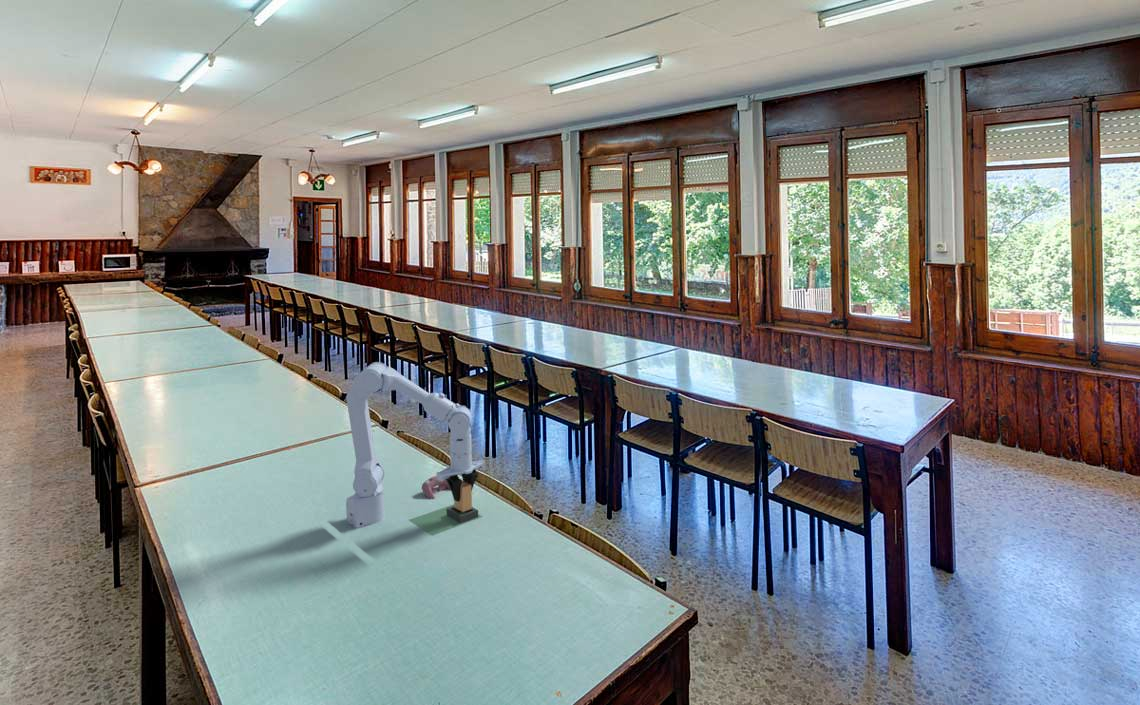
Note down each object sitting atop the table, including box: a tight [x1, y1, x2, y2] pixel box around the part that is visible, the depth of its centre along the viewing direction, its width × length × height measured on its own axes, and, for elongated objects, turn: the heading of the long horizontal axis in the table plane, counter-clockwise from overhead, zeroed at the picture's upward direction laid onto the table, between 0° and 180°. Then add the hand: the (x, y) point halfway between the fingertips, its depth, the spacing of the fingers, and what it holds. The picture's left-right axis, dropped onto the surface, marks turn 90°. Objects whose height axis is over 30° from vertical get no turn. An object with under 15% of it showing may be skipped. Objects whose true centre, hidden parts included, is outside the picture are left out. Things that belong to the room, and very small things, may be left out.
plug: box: [453, 480, 473, 512], centre depth 168 cm, size 3×4×7 cm
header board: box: [409, 504, 483, 536], centre depth 168 cm, size 16×12×3 cm
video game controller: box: [421, 475, 451, 500], centre depth 186 cm, size 10×5×7 cm, turn 141°
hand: (462, 498), depth 169 cm, fingers closed on plug, 3 cm apart
